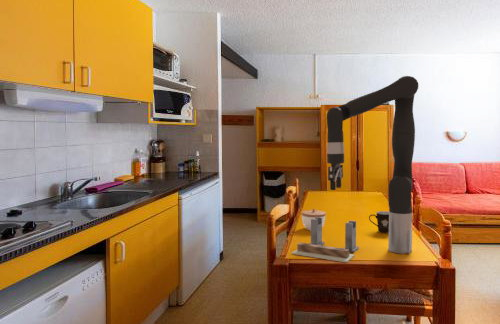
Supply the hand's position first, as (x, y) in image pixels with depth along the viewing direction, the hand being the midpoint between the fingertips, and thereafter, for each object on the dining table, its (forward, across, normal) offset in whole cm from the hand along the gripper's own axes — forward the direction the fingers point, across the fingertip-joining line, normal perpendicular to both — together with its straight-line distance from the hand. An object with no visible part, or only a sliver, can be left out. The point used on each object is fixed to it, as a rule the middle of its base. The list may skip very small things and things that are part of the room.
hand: (335, 188), depth 186 cm
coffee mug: (+27, +41, -12) cm, 51 cm away
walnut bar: (+26, -14, +2) cm, 29 cm away
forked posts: (+27, -1, +1) cm, 27 cm away
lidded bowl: (+26, +29, +22) cm, 45 cm away
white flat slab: (+27, -14, +2) cm, 30 cm away
